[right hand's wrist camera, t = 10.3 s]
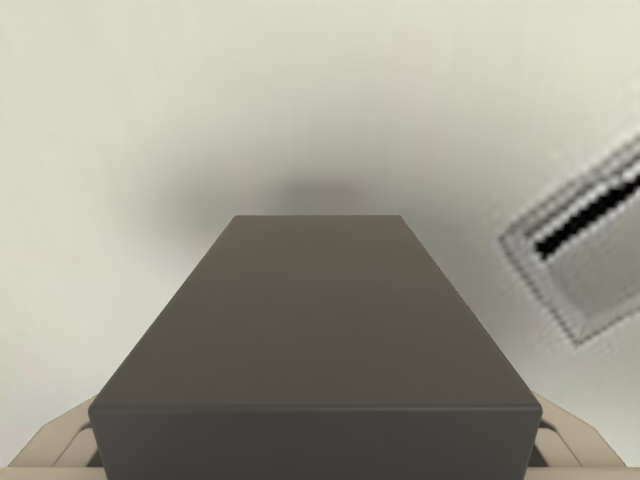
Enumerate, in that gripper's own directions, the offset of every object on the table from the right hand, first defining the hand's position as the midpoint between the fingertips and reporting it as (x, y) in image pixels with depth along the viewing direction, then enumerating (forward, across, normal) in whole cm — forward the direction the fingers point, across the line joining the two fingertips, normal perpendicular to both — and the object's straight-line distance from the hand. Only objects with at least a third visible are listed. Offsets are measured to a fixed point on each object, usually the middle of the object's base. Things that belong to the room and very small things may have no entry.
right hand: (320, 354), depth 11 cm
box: (+3, 0, -8) cm, 9 cm away
